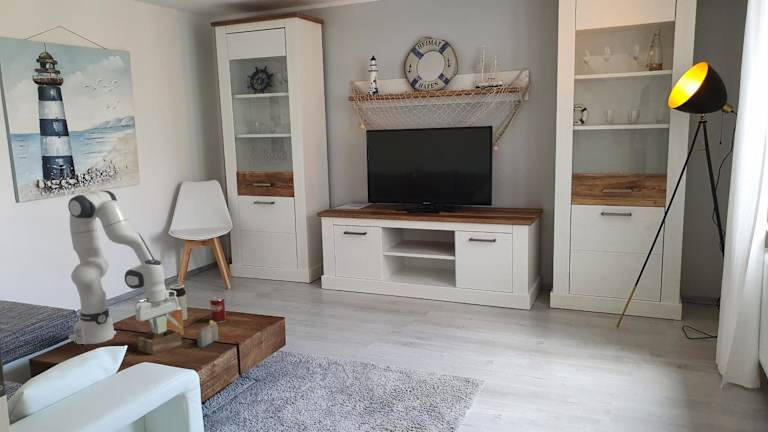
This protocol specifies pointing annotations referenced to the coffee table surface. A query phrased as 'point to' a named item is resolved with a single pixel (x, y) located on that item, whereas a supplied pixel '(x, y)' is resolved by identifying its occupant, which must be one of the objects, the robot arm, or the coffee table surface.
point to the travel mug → (181, 298)
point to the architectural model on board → (207, 334)
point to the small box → (175, 320)
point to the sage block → (159, 324)
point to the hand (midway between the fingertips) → (158, 324)
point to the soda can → (218, 309)
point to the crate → (159, 341)
